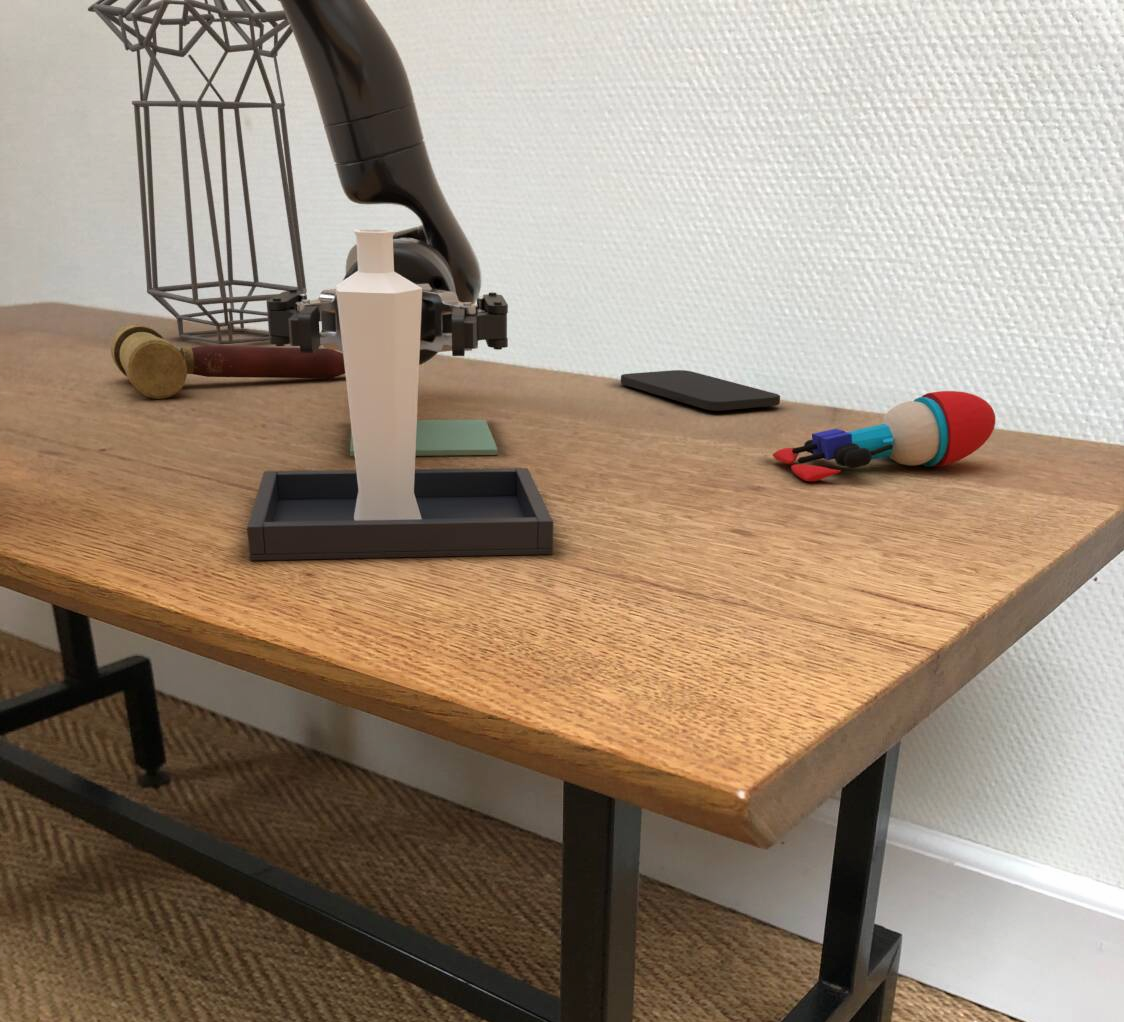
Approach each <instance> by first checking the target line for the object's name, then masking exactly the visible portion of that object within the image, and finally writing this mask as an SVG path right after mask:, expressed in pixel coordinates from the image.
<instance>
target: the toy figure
mask: <svg viewBox="0 0 1124 1022" xmlns="http://www.w3.org/2000/svg"><path fill="white" fill-rule="evenodd" d="M995 426H996V414H995V411H994V408H993V407H992V406H991V404H990V403H988V402H987V400H986V399H984V398H982V397H981V396H978V395H976V394H974V393H970V392H965V391H957V390H940V391H932V392H928V393H925V394H923V395H921V397H917V398H915V399H914V400H913V401H912V400H911V401H904V402H901V403H899V404H897V405H895V406H893V407H892V408H890V410H888V411H887V413H886V414H885V415H884V416H883V418H882V420H881V423H880V424H877V425H873V426H869V427H863V428H859V429H854V430H849V431H845V430H843V429H839V428H832V429H828V430H824V431H819V432H815V433H811V439H807V440H806V441H805V442H804V444H803V445H802V446H798V447H785V448H780V449H778V450H777V451H775V452H773V453H772V457H773V458H774V459H775V460H776V461H777V462H780V463H782V464H791V466H790V468H791V471H792V472H793V474H794V475H796V476H797V477H799V478H800V479H801V480H803V481H805V482H817V481H820V480H822V479H826V478H828V477H831V476H833V475H837V474H838V473H840V472H842V470H841V469H835V468H834V469H833V468H829V467H824V466H819V465H812V464H805V463H811V462H814V461H818V460H822V459H824V460H826V461H831V460H832V461H833V460H834V461H835V463H836V465H838V466H839V467H842V468H843V467H847V468H849V469H856V468H862V467H866V466H867V465H869V464H870V463H871V461H873V460H877V459H887V458H890V459H891V460H892V461H894V462H896V463H898V464H900V465H903V466H920V465H922V466H924V467H926V468H927V467H933V468H940V467H944V466H948V465H950V464H954V463H956V462H959V461H961V460H963V459H965V458H967V457H968V456H970V455H972V454H973V453H975V452H976V451H978V450H979V449H980V448H981V447H982V446H983V445H984V444H985V443H986V442H987V441H988V439H989V438H990V437H991V436H992V433H993V431H994V430H995ZM806 452H807V453H808V454H809V453H810V454H809V455H805V456H801V457H798V456H799V454H801V453H806ZM796 460H797V461H796ZM795 462H797V463H796V464H793V463H795ZM792 464H793V465H792Z"/></svg>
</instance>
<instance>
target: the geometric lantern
mask: <svg viewBox="0 0 1124 1022" xmlns="http://www.w3.org/2000/svg"><path fill="white" fill-rule="evenodd" d="M118 1H119V0H97V1H95V2H94V3H93V4H90V6H89V7H87V11H88V12H90V13H91V12H92V13H95V14H96V15H97V16H98V17H99V18H100V19H101V21H102V22H103V23H104V24H105V25H106V26H107V27H108V28H109V30H111V32H113V33H114V35H115V36H116V37H117V38H118V39H119V40H120V41H121V42H122V43H123V46H124V50H126V51H130V52H131V53H135V52H136V63H137V72H138V73H137V75H138V85H139V89H138V90H139V99H140V100H132V101H131V104H132V106H133V113H134V126H135V141H136V156H137V169H138V180H139V181H138V183H139V195H140V209H141V210H140V211H141V219H142V220H141V225H142V238H143V249H144V250H143V251H144V264H145V265H144V267H145V282H146V293H147V294H148V295H150V296H151V297H152V298H153V299H154V300H155V301H157V303H159V304H160V305H161V306H162V307H163V308H164V309H166V311H168V312H169V313H170V314H171V315H172V316H173V317H174V318H175V319H176V323H177V331H178V337H179V338H180V339H186V340H193V341H197V342H204V343H211V344H218V345H234V344H245V343H255V342H268V341H269V331H262V330H256V329H249V328H245V324H252V323H253V324H255V323H265V322H268V315H267V311H259V310H249V309H246V307H247V305H248V303H249V302H250V303H251V302H266V301H267V300H269V299H271V298H273V297H274V296H276V295H278V294H279V293H275V294H274V293H271V294H256V295H253V293H254V291H255V290H256V288H262V289H268V290H269V289H270V290H277V291H282V292H284V291H289V289H297V291H301V292H303V294H306V295H307V293H308V292H307V291H308V289H307V283H306V276H305V268H304V259H303V251H302V250H303V249H302V242H301V235H300V225H299V217H298V216H299V215H298V208H297V200H296V192H295V183H294V174H293V168H292V167H293V166H292V159H291V151H290V150H291V149H290V141H289V133H288V125H287V124H288V123H287V117H286V110H285V107H286V103H285V102H286V101H285V98H284V92H283V86H282V81H281V75H280V70H279V65H278V64H279V63H278V59H277V57H278V54H279V53H278V52H279V51H280V49H281V48H282V47H283V46H284V44H285V43H286V42H287V40H289V38H290V37H291V35H292V34H293V31H292V28H291V26H290V24H289V21H288V19H287V17H286V14H285V12H284V9H282V10H272V11H267V10H266V9H265V8H264V7H263V6H262V5H261V4H260V2H258V0H248V1H249V3H250V4H251V5H252V6H253V7H254V8H255V9H256V10H257V11H258V12H255V11H254V10H253V9H252V7H251V6H250V4H249V3H248V2H247V1H246V0H235V2H236V3H237V5H238V6H239V8H240V9H241V10H229V8H228V6H227V4H226V1H225V0H213V4H210V3H209V1H208V0H203V1H204V2H202V1H198V0H158V1H156V2H153V3H151V2H152V1H153V0H131V1H130V3H128V5H127V6H126V7H125V8H124V7H122V6H121V7H120V6H114V5H113V4H115V3H116V2H118ZM277 1H278V2H280V0H277ZM150 3H151V4H150ZM169 5H180V6H181V5H182V6H183V7H182V14H181V18H178V17H177V18H163V17H164V15H165V13H166V11H167V9H168V7H169ZM197 9H199V10H202V11H206V12H207V13H203V14H202V13H200V12H199V11H198V10H197ZM133 11H134V12H133ZM152 12H154V15H153V16H152V17H150V16H145V15H147V14H150V13H152ZM189 13H190V14H191V15H190V14H189ZM213 13H214V14H217V15H218V18H216V17H215V15H214V14H213ZM124 20H126V21H127V22H132V24H133V27H134V28H133V27H131V26H130V25H129V24H127V23H125V22H124ZM279 21H281V22H279ZM138 22H140V23H145V24H150V27H149V29H148V31H147V33H146V35H145V36H144V35H143V34H142V33H141V32H140V27H139V24H138ZM191 22H198V23H199V24H200V25H201V26H200V27H199V29H198V30H197V31H196V33H195V34H193V36H191V38H190V39H189V41H188V42H187V43H186V44H185V46H184V27H186V26H187V25H190V23H191ZM278 22H279V23H278ZM213 23H220V25H221V29H222V35H223V38H222V37H221V36H220V35H219V34H218V32H217V31H216V30H214V28H213V27H212V25H213ZM226 23H230V25H231V26H232V27H233V29H234V30H235V31H236V32H237V33H238V35H239V36H240V37H241V38H242V40H243V41H244V42H245V43H244V44H243V43H242V44H233V45H231V44H230V40H229V35H228V29H227V24H226ZM265 23H268V24H270V26H272V28H271V29H270V30H268V31H266V32H265V33H264V31H265V25H264V24H265ZM116 25H117V26H116ZM159 25H160V26H178V49H173V48H168V47H164V46H159V45H158V43H157V42H158V40H157V30H158V27H159ZM240 25H244V26H249V33H250V37H249V35H248V34H247V33H246V32H245V31H244V29H243V28H242V27H241V26H240ZM118 27H119V28H120V29H119V28H118ZM255 28H258V29H259V37H258V38H257V39H256V34H255ZM284 29H286V30H285V32H283V34H282V35H281V36H280V38H279V33H280V32H281V31H283V30H284ZM206 32H207V33H208V34H209V35H210V36H211V38H213V40H214V41H215V42H216V43H217V44H218V45H219V46H220V48H221V49H222V50H223V51H224V52H223V53H222V56H221V57H220V59H219V61H218V62H217V64H216V66H215V68H214V70H213V71H212V72H211V73H212V74H211V75H210V76H209V78H208V76H207V75H206V74H205V72H204V71H203V69H202V68H201V67H200V66H199V64H198V63H197V61H196V60H195V58H194V57H193V56H192V54H188V53H189V52H190V50H192V49H193V47H194V46H195V45H196V44H197V42H198V41H199V40H200V39H201V38H202V36H203V35H204V34H205V33H206ZM127 33H129V34H130V35H131V36H133V37H134V38H136V39H137V42H138V43H134V44H133V43H132V42H131V41H130V40H129V39H128V36H127ZM271 38H273V47H272V49H271V50H265V49H263V46H264V43H265V42H267V41H269V40H270V39H271ZM143 49H144V50H145V52H146V53H147V56H148V57H149V62H148V66H147V72H146V77H145V82H144V85H143V74H142V60H141V50H143ZM248 51H252V55H251V58H250V60H249V62H248V65H247V68H246V70H245V73H244V75H243V78H242V81H241V82H240V86H239V88H238V90H237V93H236V94H235V95H236V96H235V98H234V100H233V101H226V100H225V99H224V98H223V97H222V95H221V94H220V93H219V91H218V90H217V89H216V87H215V86H214V85H213V83H212V82H213V81H214V79H215V77H216V75H217V74H218V71H219V69H220V68H221V66H222V64H223V63H224V61H225V59H226V57H227V56H228V54H229V53H237V52H248ZM157 54H163V55H169V56H174V57H179V58H185V56H187V54H188V56H187V57H188V58H189V59H190V61H191V63H192V64H193V66H195V68H196V70H197V71H198V72H199V73H200V75H201V76H202V77H203V79H204V80H205V81H206V84H205V86H204V88H203V89H202V92H201V93H200V95H199V97H198V98H197V100H182V99H181V98H180V96H179V94H178V92H177V91H176V89H175V88H174V85H173V84H172V82H171V81H170V79H169V77H168V75H167V74H166V72H165V70H164V68H163V67H162V65H161V63H160V62H159V59H158V58H157ZM262 57H267V58H272V59H273V63H274V70H275V74H276V80H277V85H278V92H279V97H280V102H277V101H276V97H275V95H274V92H273V89H272V86H271V84H270V83H271V82H270V81H269V77H268V73H267V71H266V68H265V65H264V62H263V60H262ZM255 64H257V66H258V69H259V72H260V74H261V78H262V81H263V84H264V87H265V90H266V92H267V93H266V94H267V95H268V98H269V101H270V102H247V101H241V100H242V97H243V94H244V91H245V89H246V86H247V84H248V82H249V79H250V76H251V74H252V71H253V69H254V66H255ZM154 68H156V70H157V72H158V74H159V75H160V77H161V79H162V80H163V82H164V85H166V87H167V89H168V91H169V93H170V94H171V96H172V97H173V99H174V100H148V99H149V94H150V89H151V84H152V80H153V79H152V78H153V73H154ZM143 87H144V88H143ZM209 88H210V89H211V90H212V91H213V92H214V94H215V96H217V98H218V99H219V100H203V98H204V97H205V95H206V93H207V91H208V90H209ZM150 107H165V108H167V107H169V108H170V107H171V108H173V107H175V108H176V107H177V116H178V117H177V118H178V128H179V129H178V130H179V142H180V155H181V156H180V157H181V168H182V181H183V193H184V194H183V195H184V208H185V221H186V233H187V244H188V258H189V272H190V282H191V283H185V284H174V285H165V286H164V285H163V286H159V281H158V260H157V259H158V258H157V238H156V237H157V236H156V221H155V220H156V218H155V199H154V196H155V195H154V177H153V157H152V136H151V134H152V133H151V118H150V117H151V116H150ZM141 108H143V126H144V144H145V163H144V150H143V149H144V147H143V135H142V134H143V133H142V121H141V120H142V119H141ZM184 108H195V115H196V123H197V131H198V138H199V140H198V141H199V147H200V155H201V159H202V160H201V161H202V170H203V176H204V184H205V191H206V198H207V200H206V201H207V207H208V215H209V221H210V228H211V236H212V244H213V253H214V258H215V259H214V260H215V267H216V273H217V274H216V275H217V280H216V281H206V282H198V279H197V267H196V265H197V264H196V253H195V251H196V250H195V239H194V225H193V224H194V223H193V213H192V197H191V187H190V174H189V173H190V172H189V161H188V160H189V159H188V147H187V134H186V133H187V132H186V123H185V113H184ZM202 108H217V120H218V122H217V123H218V136H219V137H218V138H219V150H220V166H221V184H222V201H223V215H224V231H225V247H226V248H225V249H226V264H227V265H226V266H227V280H225V278H224V271H223V263H222V255H221V248H220V240H219V234H218V232H219V231H218V225H217V218H216V211H215V204H214V203H215V202H214V195H213V189H212V180H211V179H212V178H211V172H210V164H209V157H208V149H207V142H206V134H205V133H206V132H205V126H204V119H203V118H204V117H203V111H202ZM263 108H265V109H267V108H269V109H271V116H272V123H273V128H274V129H273V130H274V136H275V143H276V150H277V156H278V163H279V164H278V165H279V170H280V178H281V186H282V190H283V197H284V204H285V212H286V220H287V225H288V232H289V240H290V245H291V246H290V247H291V252H292V259H293V267H294V274H295V280H296V284H297V285H296V286H295V285H294V286H293V285H285V284H278V283H270V282H263V281H260V280H259V270H258V263H257V253H256V244H255V235H254V226H253V219H252V211H251V209H252V208H251V201H250V200H251V199H250V193H249V192H250V191H249V184H248V176H247V166H246V157H245V151H244V141H243V140H244V139H243V132H242V123H241V114H240V109H263ZM224 110H233V114H234V119H235V120H234V121H235V122H234V123H235V132H236V133H235V134H236V141H237V149H238V159H239V166H240V167H239V168H240V176H241V183H242V192H243V193H242V194H243V200H244V207H245V208H244V210H245V218H246V227H247V235H248V236H247V237H248V243H249V245H248V246H249V252H250V260H251V261H250V262H251V269H252V279H253V281H250V280H241V279H240V280H239V279H234V270H233V269H234V268H233V266H234V265H233V249H232V248H233V247H232V233H231V232H232V231H231V216H230V215H231V214H230V201H229V184H228V183H229V182H228V167H227V166H228V165H227V151H226V135H225V134H226V133H225V120H224ZM278 111H279V112H278ZM279 119H280V120H279ZM145 164H146V177H145ZM146 182H147V183H146ZM146 185H147V192H146ZM147 202H148V203H147ZM147 205H148V206H147ZM233 286H242V287H251V288H250V290H249V291H248V293H247V295H242V296H234V295H233ZM226 287H227V288H228V297H227V291H226ZM208 288H209V289H210V288H219V294H220V297H210V298H209V297H208V298H199V291H198V290H199V289H208ZM186 290H188V291H189V290H191V295H192V297H189V296H184V295H180V294H175V293H170V292H176V291H186ZM166 299H168V300H173V301H178V302H181V303H186V304H191V305H194V306H197V307H198V308H199V309H200V310H201V311H200V312H194V313H193V312H192V313H185V314H179V312H178V311H176V309H175V308H174V307H173V306H172V305H171V304H170V303H169V302H168V301H167V300H166ZM234 303H235V304H236V303H242V305H241V307H240V308H235V304H234ZM216 304H217V305H219V304H222V307H223V309H215V310H208V309H206V308H205V305H216ZM228 304H229V305H230V308H228ZM233 313H234V314H239V319H237V320H236V319H235V320H234V316H233V315H234V314H233ZM218 314H223V317H224V318H223V319H224V322H219V321H218V320H217V319H216V318H215V317H214V316H213V315H218ZM244 314H247V315H255V316H264V317H258V318H247V319H244ZM204 316H207V318H209V319H210V320H208V319H202V318H196V317H204ZM265 316H266V317H265ZM183 321H188V322H192V323H193V322H194V323H198V324H204V325H208V326H215V327H216V329H210V330H209V329H208V330H199V331H197V330H196V331H187V332H185V331H184V322H183ZM235 325H239V327H240V328H235ZM221 327H227V328H224V329H223V328H222V329H221ZM226 333H227V336H228V339H225V340H222V334H226ZM233 333H239V334H240V333H243V334H244V333H246V334H247V333H248V334H254V335H261V337H249V338H238V339H234V338H233ZM214 334H216V335H217V339H214V338H209V337H203V336H205V335H214ZM202 335H203V336H202ZM269 342H270V341H269Z"/></svg>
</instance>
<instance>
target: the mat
mask: <svg viewBox="0 0 1124 1022" xmlns="http://www.w3.org/2000/svg"><path fill="white" fill-rule="evenodd" d="M350 429H351V430H350V446H349V448H350V449H349V455H350V457H351V458H352V457H354V458H355V455H354V446H353V437H352V428H351V427H350ZM498 455H499V449H498V447H497V444H496V441H495V439H494V436H493V435H492V431H491V430H490V427H489V425H488V422H487V420H486V419H417V428H416V452H415V457H423V456H424V457H431V456H432V457H435V456H436V457H438V456H441V457H444V456H445V457H446V456H448V457H449V456H498Z"/></svg>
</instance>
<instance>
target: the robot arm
mask: <svg viewBox="0 0 1124 1022" xmlns="http://www.w3.org/2000/svg"><path fill="white" fill-rule="evenodd" d="M279 2H280V4H281V7H282V10H284V12H285V14H286V17H287V19H288V21H289V24H290V25H289V26H291V28H292V31H293V32H292V34H293V36H294V39H295V41H296V44H297V46H298V48H299V52H300V54H301V57H302V60H303V63H304V66H305V68H306V71H307V74H308V77H309V78H308V79H309V80H310V84H311V88H312V90H313V93H314V96H315V100H316V103H317V107H318V110H319V114H320V117H321V121H322V125H323V128H324V131H325V135H326V138H327V142H328V145H329V149H330V152H331V157H332V159H333V162H334V166H335V169H336V173H337V177H338V180H339V183H340V185H341V188H342V190H343V193H344V195H345V196H346V197H347V199H348V200H349V201H351V202H352V203H355V204H358V205H396V206H400V207H404V208H406V209H407V210H410V211H411V212H412V213H413V214H414V215H415V216H417V218H418V220H419V221H420V223H421V225H419V226H414V227H410V228H406V229H401V230H398V231H396V232H395V234H394V235H393V257H394V272H396V273H397V274H399V275H401V276H402V277H404V278H406V279H407V280H409V281H411V282H412V283H414V284H416V285H417V286H419V287H421V288H422V307H421V331H420V355H419V366H421V365H423V364H425V363H426V362H429V361H430V360H432V359H433V358H434V357H435V356H436V355H437V354H438V353H443V352H451V355H452V357H465V354H466V352H472V351H473V350H475V349H478V348H479V341H485V343H486V345H487V347H488V348H492V349H493V350H497V351H498V350H499V351H500V350H503V349H506V348H508V347H509V339H508V313H509V303H507V301H506V299H505V297H504V296H503V295H502V294H498V293H497V292H493V291H492V292H490V291H489V292H488V294H482V296H480V293H481V289H482V269H481V266H480V262H479V259H478V257H477V254H476V252H475V250H474V248H473V246H472V244H471V242H470V240H469V238H468V237H467V235H466V233H465V231H464V230H463V228H462V226H461V224H460V223H459V220H458V219H457V218H456V216H455V214H454V212H453V210H452V208H451V206H450V204H449V202H448V200H447V198H446V196H445V194H444V192H443V189H442V188H441V186H440V184H439V181H438V179H437V176H436V173H435V171H434V168H433V165H432V162H431V159H430V155H429V153H428V149H427V145H426V142H425V140H424V139H425V138H424V132H423V129H422V125H421V122H420V117H419V113H418V110H417V105H416V103H415V97H414V93H413V89H412V85H411V82H410V79H409V76H408V73H407V71H406V68H405V65H404V63H403V60H402V58H401V56H400V54H399V52H398V49H397V47H396V46H395V44H394V42H393V40H392V39H391V37H390V35H389V34H388V31H387V30H386V29H385V27H384V25H383V24H382V22H381V21H380V19H379V18H378V17H377V15H376V14H375V12H374V10H373V9H372V8H371V6H370V5H369V3H368V2H367V0H280V1H279ZM357 271H358V261H357V243H355V244H354V245H353V246H352V247H351V248H350V249H349V251H348V254H347V257H346V262H345V275H344V277H343V279H342V281H343V280H345V279H346V278H348V277H349V276H351V275H352V274H354V273H355V272H357ZM277 294H278V295H276V296H274V297H273V298H271V299H269V300H265V302H266V312H267V315H268V316H267V317H268V321H267V327H268V332H269V336H268V337H269V344H270V345H275V347H285V345H290V346H291V347H299V348H300V352H301V354H314V353H315V352H316V350H317V349H318V348H320V347H321V346H323V348H326V349H333V350H335V351H339V352H341V351H342V352H343V348H342V339H341V330H340V321H339V312H338V303H337V294H336V288H328V289H324V290H321V292H320V294H319V297H318V298H317V299H308V294H307V293H306V294H303V292H301V291H297V289H289V291H282V292H280V293H277ZM320 322H321V330H320Z"/></svg>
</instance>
